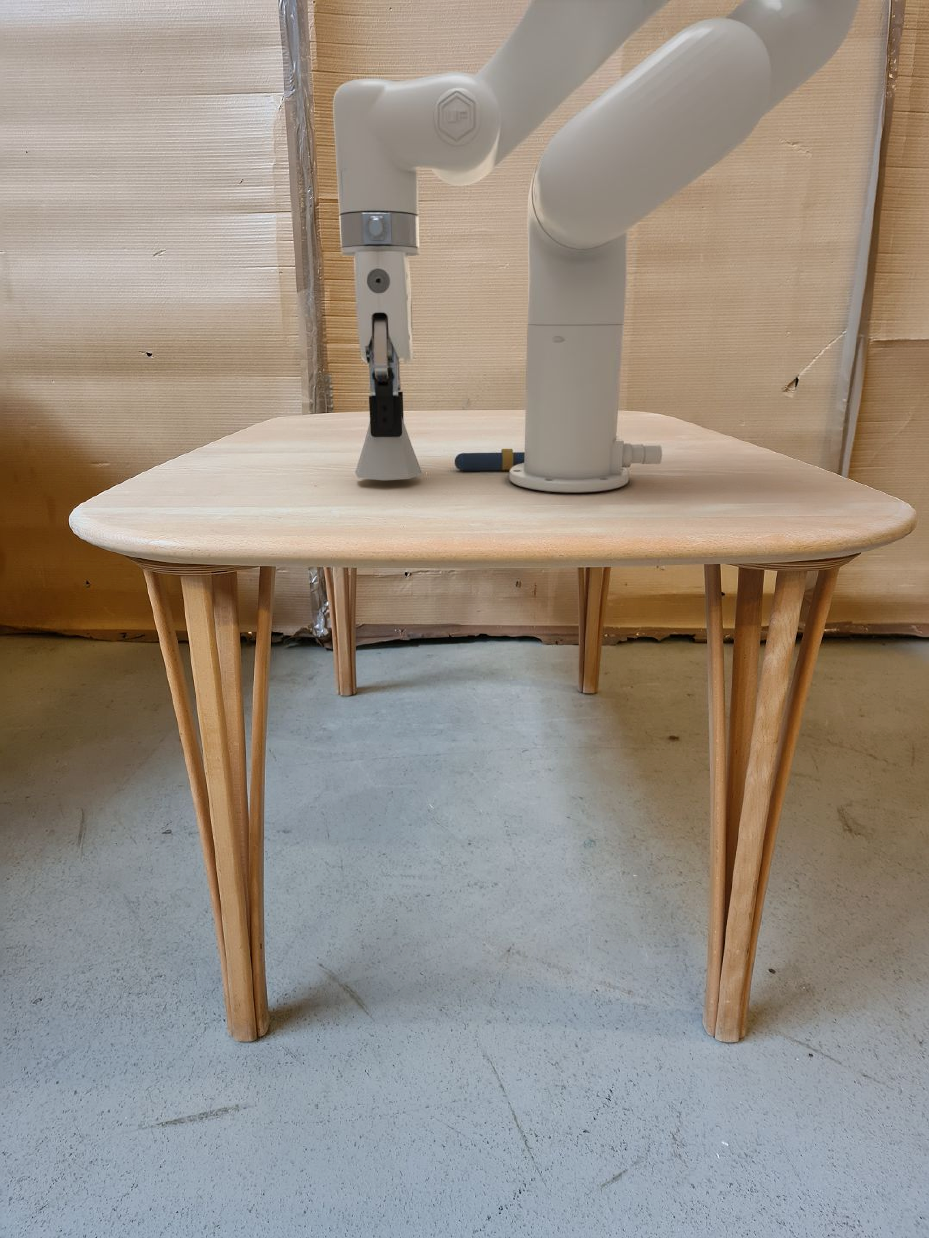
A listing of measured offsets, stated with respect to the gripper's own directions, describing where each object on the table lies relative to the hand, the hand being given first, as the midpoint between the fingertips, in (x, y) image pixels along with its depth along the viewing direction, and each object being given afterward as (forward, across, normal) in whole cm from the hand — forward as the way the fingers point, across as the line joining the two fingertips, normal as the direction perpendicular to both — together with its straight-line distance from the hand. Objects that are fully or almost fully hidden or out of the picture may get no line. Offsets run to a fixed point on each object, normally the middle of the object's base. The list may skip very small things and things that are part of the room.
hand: (387, 431), depth 80 cm
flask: (+5, 0, 0) cm, 5 cm away
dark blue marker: (+5, +6, -13) cm, 15 cm away
